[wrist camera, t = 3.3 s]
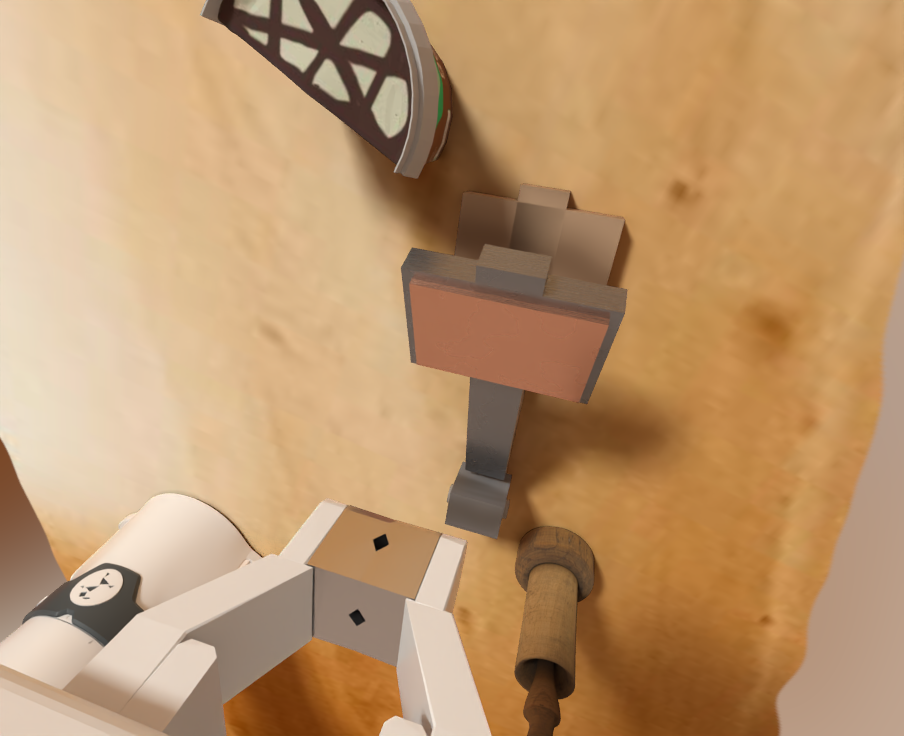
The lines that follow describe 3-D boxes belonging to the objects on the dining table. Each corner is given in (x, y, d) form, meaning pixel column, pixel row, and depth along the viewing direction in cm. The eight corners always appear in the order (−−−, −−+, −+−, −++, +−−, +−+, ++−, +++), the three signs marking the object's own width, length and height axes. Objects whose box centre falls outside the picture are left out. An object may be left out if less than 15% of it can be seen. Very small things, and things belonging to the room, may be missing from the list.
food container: (514, 84, 28) (482, 51, 20) (455, 174, 31) (403, 180, 22) (350, -54, 28) (240, -153, 19) (305, 50, 31) (190, 7, 22)
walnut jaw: (540, 511, 40) (534, 560, 35) (427, 480, 42) (406, 522, 37) (628, 200, 29) (636, 208, 24) (470, 174, 31) (448, 177, 26)
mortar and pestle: (505, 533, 42) (456, 763, 26) (577, 518, 39) (571, 763, 23) (534, 589, 44) (504, 838, 28) (605, 579, 41) (617, 846, 25)
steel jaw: (553, 474, 36) (549, 498, 35) (427, 441, 38) (419, 462, 37) (634, 272, 20) (631, 302, 19) (410, 229, 22) (395, 255, 21)
